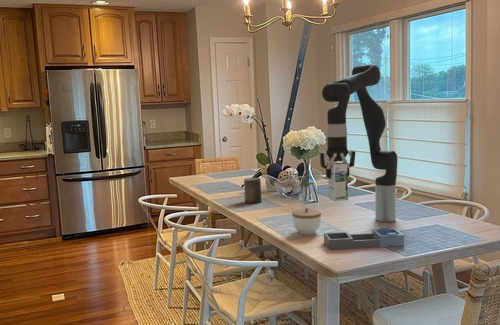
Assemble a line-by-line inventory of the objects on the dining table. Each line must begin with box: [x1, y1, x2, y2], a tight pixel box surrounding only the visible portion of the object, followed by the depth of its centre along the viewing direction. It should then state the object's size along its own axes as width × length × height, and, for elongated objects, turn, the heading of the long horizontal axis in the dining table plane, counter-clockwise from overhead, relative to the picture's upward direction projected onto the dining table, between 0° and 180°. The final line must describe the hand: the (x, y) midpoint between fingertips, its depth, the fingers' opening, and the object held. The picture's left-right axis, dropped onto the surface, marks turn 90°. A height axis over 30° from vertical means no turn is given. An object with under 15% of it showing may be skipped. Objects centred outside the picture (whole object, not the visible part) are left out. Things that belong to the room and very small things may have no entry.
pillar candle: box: [243, 177, 262, 204], centre depth 275 cm, size 10×10×15 cm
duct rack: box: [323, 225, 405, 251], centre depth 189 cm, size 12×30×5 cm, turn 93°
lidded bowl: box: [291, 207, 322, 236], centre depth 209 cm, size 13×13×11 cm
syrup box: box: [327, 161, 349, 202], centre depth 186 cm, size 6×6×14 cm
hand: (337, 177), depth 186 cm, fingers closed on syrup box, 6 cm apart
